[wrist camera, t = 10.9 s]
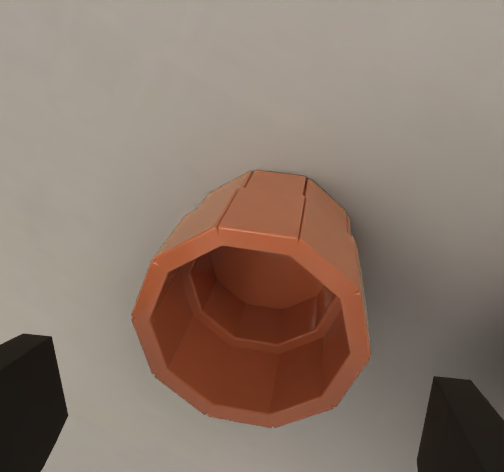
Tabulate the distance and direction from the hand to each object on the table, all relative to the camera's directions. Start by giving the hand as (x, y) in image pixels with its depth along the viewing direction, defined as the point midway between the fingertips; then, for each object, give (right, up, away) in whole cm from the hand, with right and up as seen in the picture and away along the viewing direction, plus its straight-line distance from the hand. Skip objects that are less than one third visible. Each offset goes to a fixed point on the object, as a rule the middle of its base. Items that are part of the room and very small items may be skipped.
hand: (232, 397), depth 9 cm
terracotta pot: (+1, +3, +6) cm, 6 cm away
